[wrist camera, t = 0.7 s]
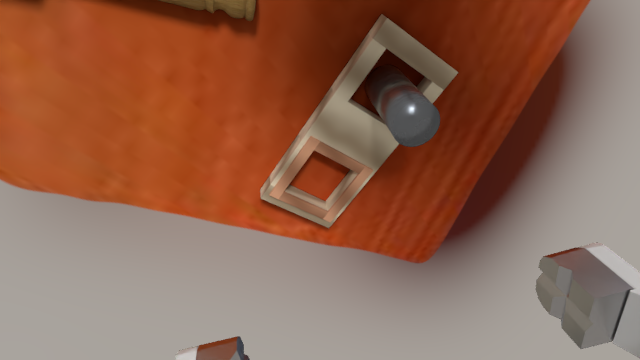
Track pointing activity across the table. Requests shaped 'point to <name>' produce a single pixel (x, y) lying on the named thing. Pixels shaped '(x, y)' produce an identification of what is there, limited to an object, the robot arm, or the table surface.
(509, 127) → the table surface
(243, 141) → the table surface
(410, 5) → the table surface
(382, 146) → the beige flat frame
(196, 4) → the turned wooden spindle
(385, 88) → the steel peg
